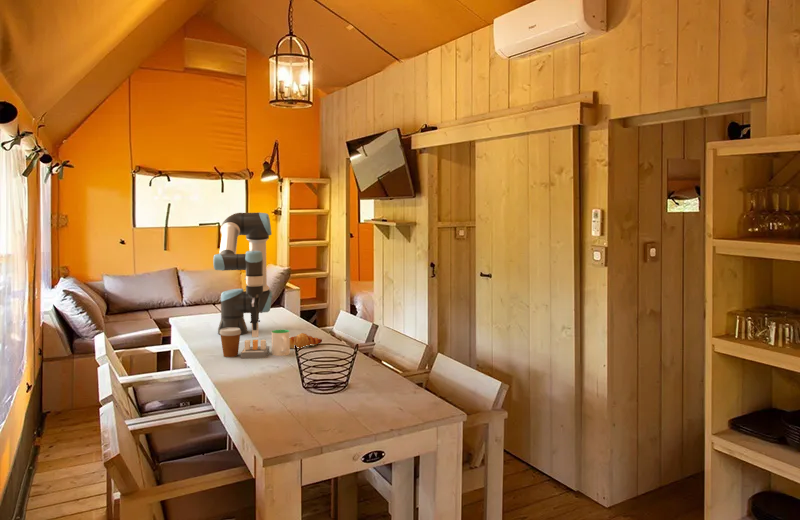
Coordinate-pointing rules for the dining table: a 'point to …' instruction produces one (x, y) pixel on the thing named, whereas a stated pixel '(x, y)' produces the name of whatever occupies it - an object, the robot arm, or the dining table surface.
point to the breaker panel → (255, 353)
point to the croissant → (303, 340)
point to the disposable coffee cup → (230, 341)
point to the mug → (280, 342)
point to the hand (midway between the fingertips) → (255, 336)
